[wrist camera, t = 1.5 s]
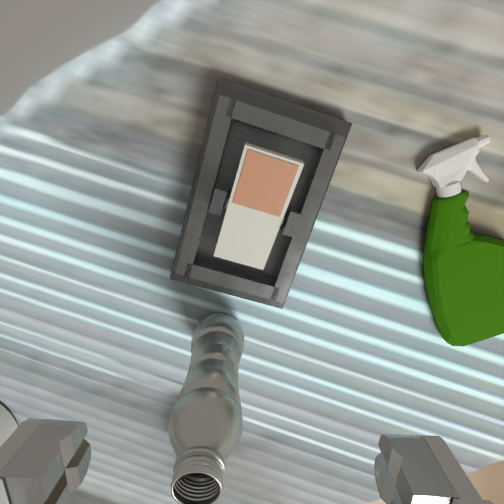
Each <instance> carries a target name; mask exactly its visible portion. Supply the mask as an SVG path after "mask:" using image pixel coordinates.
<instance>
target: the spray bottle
mask: <svg viewBox="0 0 504 504" xmlns="http://www.w3.org/2000/svg"><path fill="white" fill-rule="evenodd" d="M489 142H490V137H489V136H488V135H482V136H480V137H478V138H470V139H468V140H465V141H463V142H461V143H458V144H456V145H453V146H451V147H448V148H446V149H444V150H441V151H439V152H436V153H434V154H431V155H429V157H428V158H427V159H426V160H425V161H424V162H423V164H422V165H421V166H420V167H419V168H418V169H417V172H420V173H422V174H425V175H426V176H427V177H429V178H430V180H431V182H432V184H433V186H434V187H436V192H437V196H438V197H436V198H435V199H433V200H432V204H431V209H430V215H429V220H428V226H427V232H426V237H425V246H424V255H423V264H424V278H425V284H426V290H427V295H428V299H429V303H430V306H431V309H432V313H433V316H434V319H435V323H436V325H437V327H438V329H439V332H440V334H441V336H442V337H443V339H444V340H445V341H446V342H447V343H449V344H451V345H452V346H466V345H469V344H472V343H475V342H478V341H481V340H484V339H487V338H490V337H494V336H497V335H500V334H503V333H504V242H503V241H502V240H499V239H496V238H493V237H488V236H481V235H475V234H474V233H472V232H471V231H470V227H471V226H470V223H469V222H468V221H467V219H468V214H469V212H468V210H467V208H466V207H465V203H466V201H467V199H468V197H469V193H468V191H466V190H464V189H461V185H460V181H461V180H462V179H463V177H464V175H465V173H466V171H467V170H469V171H470V172H471V173H472V174H474V175H475V176H476V177H478V178H479V179H481V180H482V181H484V182H488V181H489V179H488V178H487V177H486V176H485V175H484V174H483V172H482V171H481V169H480V168H479V166H478V164H477V163H476V159H475V157H476V156H477V154H478V153H479V148H480V147H482V146H484V145H486V144H488V143H489Z"/></svg>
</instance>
